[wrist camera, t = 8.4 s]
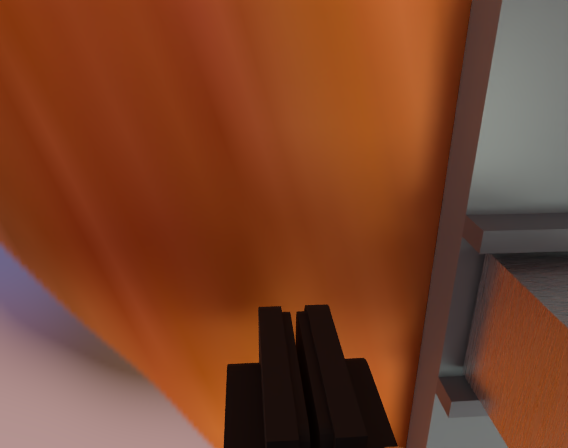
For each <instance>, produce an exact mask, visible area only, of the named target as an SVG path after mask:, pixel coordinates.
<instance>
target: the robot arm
mask: <svg viewBox="0 0 568 448" xmlns="http://www.w3.org/2000/svg"><path fill="white" fill-rule="evenodd" d="M258 316H259V363H245V364H228V365H227V382H226V406H225V430H224V448H403V447H398V445H397V443H396V440H395V437H394V434H393V432H392V429H391V426H390V423H389V421H388V418H387V415H386V412H385V410H384V407H383V404H382V401H381V399H380V396H379V393H378V390H377V388H376V385H375V382H374V379H373V377H372V374H371V371H370V368H369V366H368V363H367V361H366V360H365V359H364V358H353V359H345V358H344V355H343V352H342V349H341V345H340V342H339V339H338V335H337V332H336V329H335V325H334V322H333V319H332V315H331V312H330V309H329V306H328V305H305V309H304V311H302V312H297V314H296V345H295V339H294V332H293V326H292V320H291V314H290V312H282V309H281V306H274V307H259V308H258Z"/></svg>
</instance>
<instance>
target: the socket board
mask: <svg viewBox="0 0 568 448" xmlns="http://www.w3.org/2000/svg"><path fill="white" fill-rule="evenodd" d="M561 251H568V0H472V4H471V11H470V18H469V25H468V32H467V38H466V45H465V52H464V59H463V65H462V72H461V79H460V86H459V93H458V99H457V106H456V113H455V120H454V126H453V133H452V140H451V147H450V153H449V160H448V167H447V174H446V181H445V187H444V194H443V201H442V208H441V214H440V221H439V228H438V235H437V242H436V248H435V255H434V262H433V269H432V275H431V282H430V289H429V296H428V302H427V309H426V316H425V323H424V330H423V336H422V343H421V350H420V357H419V363H418V370H417V377H416V384H415V391H414V397H413V404H412V411H411V418H410V424H409V431H408V438H407V445H406V448H508V446H507V445H506V443H505V442H504V440H503V438H502V437H501V435H500V433H499V432H498V430H497V429H496V427H495V425H494V424H493V422H492V420H491V419H490V417H489V416H488V414H487V412H486V411H485V409H484V407H483V406H482V404H481V403H480V401H479V399H478V398H477V396H476V394H475V393H474V391H473V389H472V388H471V386H470V385H469V383H468V381H467V380H466V378H465V376H464V375H463V373H462V371H463V366H464V361H465V356H466V350H467V345H468V340H469V335H470V330H471V325H472V319H473V314H474V309H475V304H476V299H477V294H478V289H479V283H480V278H481V273H482V268H483V263H484V258H485V254H491V253H526V252H561Z"/></svg>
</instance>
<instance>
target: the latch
mask: <svg viewBox="0 0 568 448" xmlns="http://www.w3.org/2000/svg"><path fill="white" fill-rule="evenodd" d="M462 373H463V375H464V376H465V378H466V380H467V381H468V383H469V385H470V386H471V388H472V389H473V391H474V393H475V394H476V396H477V398H478V399H479V401H480V403H481V404H482V406H483V407H484V409H485V411H486V412H487V414H488V416H489V417H490V419H491V420H492V422H493V424H494V425H495V427H496V429H497V430H498V432H499V433H500V435H501V437H502V438H503V440H504V442H505V443H506V445H507V446H508V448H568V251H561V252H526V253H491V254H485V258H484V263H483V268H482V273H481V278H480V283H479V289H478V294H477V299H476V304H475V309H474V314H473V319H472V325H471V330H470V335H469V340H468V345H467V350H466V356H465V361H464V366H463V371H462Z"/></svg>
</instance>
